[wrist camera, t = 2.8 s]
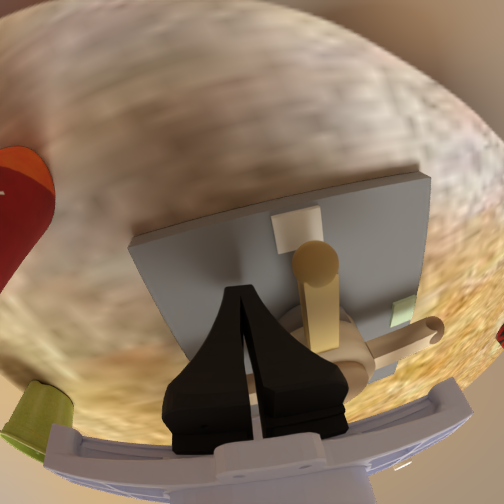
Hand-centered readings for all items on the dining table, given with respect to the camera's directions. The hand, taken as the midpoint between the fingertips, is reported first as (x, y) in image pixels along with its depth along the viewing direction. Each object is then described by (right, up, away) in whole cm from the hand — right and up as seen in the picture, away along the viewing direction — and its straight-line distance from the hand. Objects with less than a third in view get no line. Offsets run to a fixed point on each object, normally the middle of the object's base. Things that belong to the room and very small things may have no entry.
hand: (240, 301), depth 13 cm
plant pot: (-23, -14, +9) cm, 28 cm away
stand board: (+4, -3, +6) cm, 8 cm away
